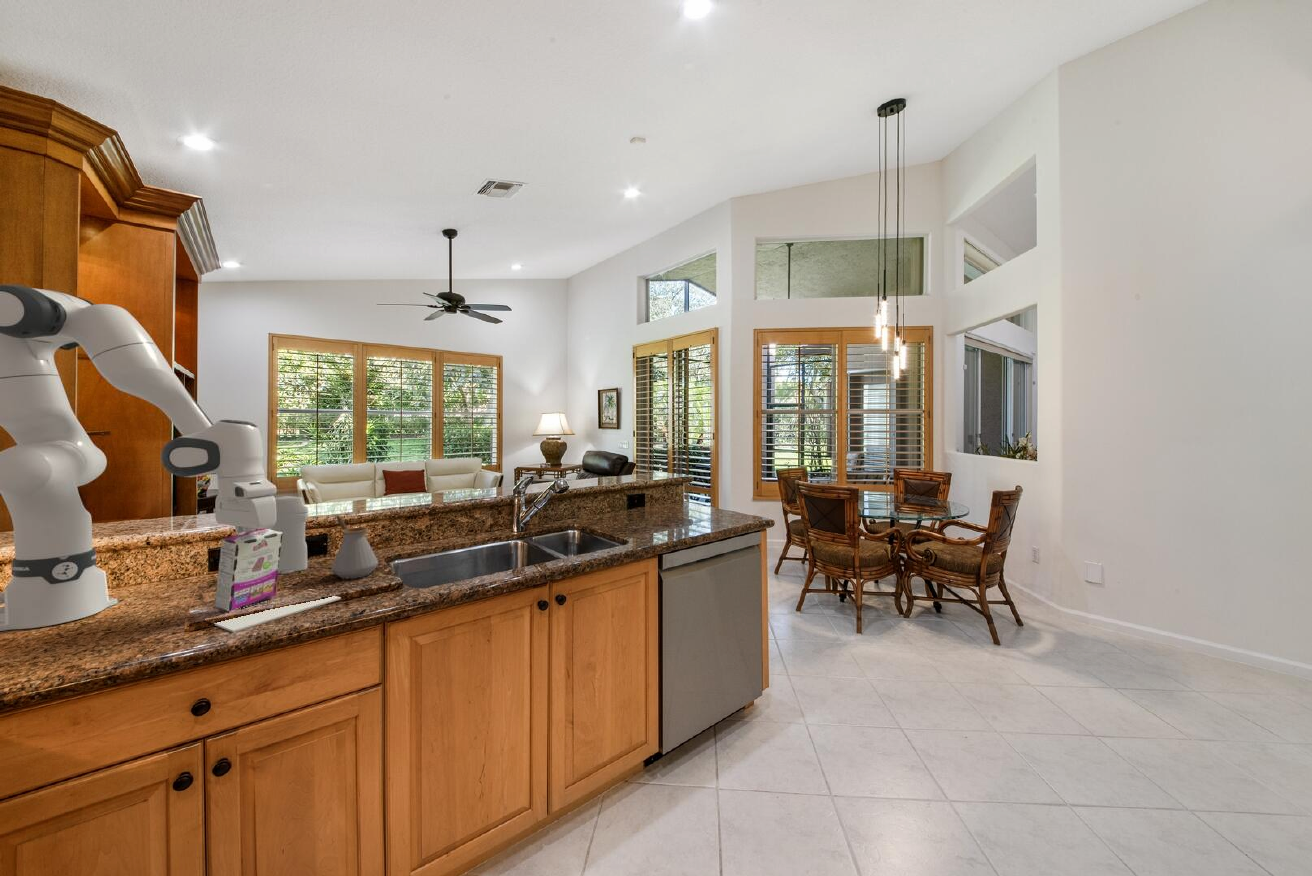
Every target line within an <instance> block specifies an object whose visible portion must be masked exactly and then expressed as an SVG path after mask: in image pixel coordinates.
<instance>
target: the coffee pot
mask: <svg viewBox="0 0 1312 876" xmlns="http://www.w3.org/2000/svg"><path fill="white" fill-rule="evenodd" d="M335 519H337V520H335ZM333 521H334V522H335V523H336V522H338V523H339V526H340V527H341V528H342V530H341V534H343V541H342V542H341V544H340V547H339V549H338V551H337V554H336V556H335V558H334V561H333V563H332V564H331V567H330V569H331V571H332V573H334V574H335V575H337V576H338V577H339V578H340V577H341V579H344V578H345V579H347V580H348V579H349V578H351V579H357V578H358V577H359V578H363V577H367V576H368V575H371V573H372V572H373V571H374V570H375V569H376V568H377V566H378V564H379V560H378V558H377V557H376V554H375V552H374V551H373V549H372V547H371V545H370V543H369V541H368V539H367V537H366V534H367V532H368V531H369V528H368V527H352V528H351V527H350V528H347V525H346V523H345V522H344V521H343V517H342V516H339V515H336V516H335V517H334V518H333Z"/></svg>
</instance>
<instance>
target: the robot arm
mask: <svg viewBox="0 0 1312 876" xmlns="http://www.w3.org/2000/svg"><path fill="white" fill-rule="evenodd" d="M78 347H81V348H82V349H83V351H84V352H85V354H86V355H87V357H88V358H89V359H90V361H91V363H92V364H93V365H94V367H95V368H96V370H97V372H98V373H99V374H100V375H101V376H102V377H103V378H104V379H105V380H106V381H107V382H108V383H109V384H110V385H111V386H113V388H115V389H117V390H119V391H121V392H124V393H125V394H129V395H132V396H134V397H137V398H140V399H142V400H145V401H146V402H149V403H150V404H152V405H154V406H156V408H159V410H161V411H162V412H163V413H164V414H165V415H166V416H167V418H168V419H169V420H170V422H172V424H173V425H174V427H175V428H176V430H178V432H179V433H180V434H181V436H179V437H176V438H173V439H172V440H171V439H170V440H169V441H167V443H166V444H165V445H164V446H163V447H162V449H161V451H160V462H161V464H162V466H163V467H164V469H165V470H166V471H167V472H169V473H170V474H171V475H174V476H177V477H184V478H195V477H201V476H202V477H203V476H207V475H216V478H217V492H218V494H217V496H216V498H215V509H214V510H215V511H214V512H215V513H214V514H215V515H214V516H215V521H216V523H217V524H218V525H225V526H226V525H227V526H232V527H234V530H235V533H236V534H237V535H242V534H246V533H250V532H254V531H257V530H263V529H265V528H269V527H273V526H274V525H275V523H276V501H275V496H274V495H276V494H277V491H278V490H277V486H276V485H275V484H273V482H271V481H270V480H268V478H266V472H265V469H264V467H263V466H264V465H263V460H264V455H265V454H264V447H263V440H262V435H261V431H260V429H259V427H258V426H257V424H255V423H253V422H249V421H245V420H235V419H221V420H220V419H219V420H218V421H216V422H214V423H213V422H212V421H211V419H210V418H209V417H208V415H207V414H206V413H205V412H204V410H203V409H202V407H201V406H200V405H199V403H198V402H197V401H196V400H195V398H194V397H193V396H192V394H191V393H190V391H188V389H186V387H185V386H184V384H183V382H182V381H181V380H180V379H179V377H178V376H177V375H176V373H175V372H174V370H173V369H172V368H171V365H170V364H169V362H168V361H167V359H166V358H165V357H164V355H163V353H162V352H161V350H160V349H159V347H158V345H157V344H156V343H155V341H154V339H152V337H151V336H150V334H149V333H148V332H147V330H146V329H145V328H144V327H143V326H142V325H141V324H140V322H139V321H138V320H137V319H136V317H134V316H133V315H132V314H131V313H130V312H129V311H128V310H127V309H125V308H123V307H121V306H119V305H116V304H115V305H114V304H109V303H98V304H95V303H94V302H92V301H90V300H88V299H85V298H83V297H80V296H73V295H71V294H67V293H63V292H60V291H57V290H51V289H44V288H43V289H42V288H41V289H40V288H36V287H35V288H34V287H29V286H26V285H25V286H24V285H20V284H19V285H18V284H0V426H1V427H2V429H4V430H5V431H6V432H7V434H9V435H10V437H12V439H13V440H14V442H15V443H16V445H14V446H11V447H8V448H6V449H4V450H2V451H0V495H1V496H2V499H3V501H4V502H5V503H4V504H5V505H6V508H7V510H8V513H9V515H10V517H11V521H12V526H13V539H14V542H13V543H14V558H13V559H12V562H11V565H10V569H11V573H10V574H11V576H12V578H11V579H10V581H9V582H8V583H7V584H6V586H5V588H4V590H3V591H2V592H0V605H2V606H0V632H2V631H9V630H10V631H11V630H22V629H24V630H25V629H36V628H41V627H49V626H53V625H58V624H63V623H68V622H72V621H76V620H79V619H80V620H81V619H83V618H87V617H90V616H93V615H95V614H97V613H100V612H102V611H103V610H105V609H107V608H108V607H109V608H110V607H112V606H114V605H117V604H118V603H119V602H118V601H119V600H118V598H116V597H110V596H109V592H108V591H109V590H108V583H107V573H106V571H105V570H103V569H101V568H99V567H97V566H96V564H97V557H98V556H97V555H98V554H97V553H96V549H95V547H93V525H92V523H93V521H92V520H93V519H92V514H91V513H90V511H88V510H87V509H86V508H85V506H84V504H83V501H82V499H81V496H80V493H79V490H78V489H79V488H78V487H81V486H85V485H88V484H89V483H91V482H92V481H94V480H96V479H97V478H99V476H101V475H102V474H103V472H105V470H106V468H107V463H108V461H107V457H106V455H105V453H104V452H103V451H102V449H100V448H98V447H97V445H95V443H93V441H92V440H91V438H90V437H89V435H88V434H87V432H86V431H85V429H84V427H83V426H82V424H81V423H80V421H79V420H78V418H77V417H76V415H75V412H74V410H73V409H72V406H71V404H70V401H69V399H68V395H67V394H66V391H65V388H64V385H63V382H62V380H61V379H62V378H61V376H60V374H59V371H58V368H57V366H56V361H55V353H56V352H57V350H58V349H60V350H63V351H64V350H65V351H70V350H73V349H76V348H78ZM237 535H236V536H237ZM3 604H4V606H3Z"/></svg>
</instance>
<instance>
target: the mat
mask: <svg viewBox="0 0 1312 876" xmlns="http://www.w3.org/2000/svg"><path fill="white" fill-rule="evenodd" d="M308 590H313V589H311V588H310V589H308ZM340 600H342V597H340V596H338V595H337V596H336V595H334V596H332V597H328V598H325V599H320V600H316V601H310V602H306V603H301V604H296V605H289V606H284V607H280V608H275V609H270V610H265V611H263V612H259V613H255V614H250V615H246V616H241V617H238V618H233V619H229V620H225V621H221V622H217V623H214V624H215V625H214V626H216V627H218V628H220V629H224V630H227V631H229V632H231V633H236V632H237V633H238V632H240V631H243V630H247V629H249V628H252V627H255V626H259V625H263V624H265V623H269V622H271V621H275V620H278V619H281V618H285V617H288V616H292V615H294V614H298V613H301V612H304V611H308V610H311V609H314V608H317V607H319V606H323V605H327V604H330V603H333V602H336V601H340ZM267 601H268V600H267ZM267 601H265V602H267Z"/></svg>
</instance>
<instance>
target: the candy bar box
mask: <svg viewBox="0 0 1312 876" xmlns="http://www.w3.org/2000/svg"><path fill="white" fill-rule="evenodd" d="M282 534H283V533H282V532H279V531H276V530H272V529H265V528H264V529H258V530H256V531H254V532H250V533H246V534H242V535H234V536H229V537H226V538H222V539H221V543H220V553H219V562H218V572H217V573H218V574H217V580H216V581H217V582H216V590H215V599H214V607H215V608H217V609H220V610H222V611H223V610H224V611H226V612H228V611H231V610H234V609H236V608H239V607H243V608H245V607H247V606H246V605H248V606H250V605H249V604H251V605H253V604H252V603H254V604H257V603H259V602H261V601H264V600H267V599H270V598H272V597H274V596H276V592H277V591H276V590H277V582H278V575H279V574H278V568H279V559H280V551H281V543H282ZM244 606H245V607H244Z"/></svg>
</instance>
